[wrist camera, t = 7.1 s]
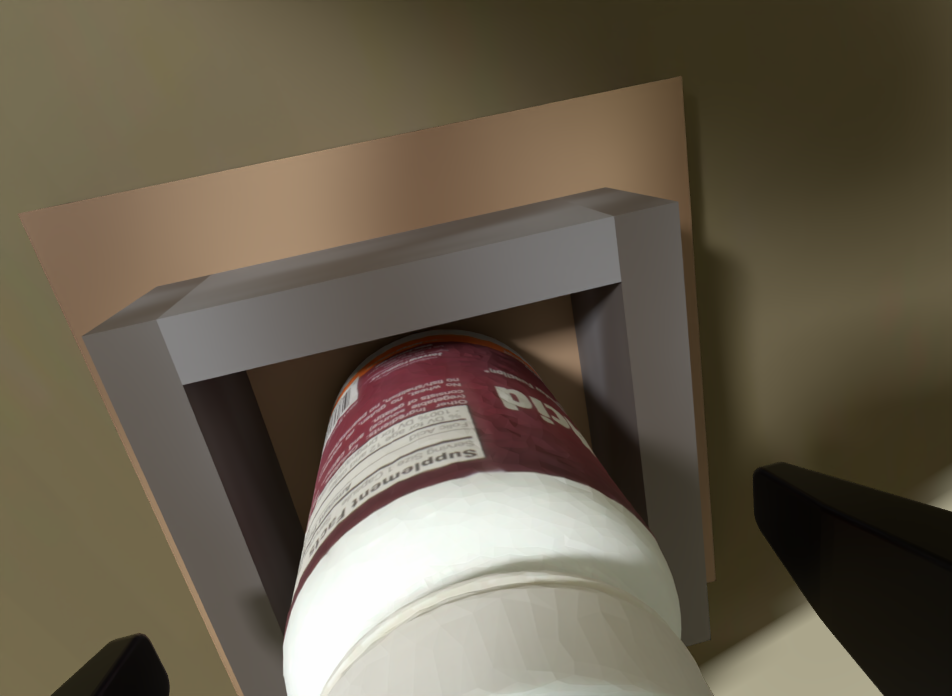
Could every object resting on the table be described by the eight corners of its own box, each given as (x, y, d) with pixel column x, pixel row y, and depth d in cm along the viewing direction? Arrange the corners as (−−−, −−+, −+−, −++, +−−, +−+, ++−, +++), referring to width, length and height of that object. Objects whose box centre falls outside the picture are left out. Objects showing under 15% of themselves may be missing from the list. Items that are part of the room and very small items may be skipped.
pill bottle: (588, 451, 13) (879, 876, 6) (410, 561, 14) (453, 1121, 6) (478, 276, 12) (673, 535, 4) (278, 406, 12) (90, 893, 4)
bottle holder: (662, 80, 12) (783, 54, 8) (700, 560, 16) (791, 678, 13) (41, 209, 11) (-117, 240, 7) (252, 685, 15) (214, 851, 12)
